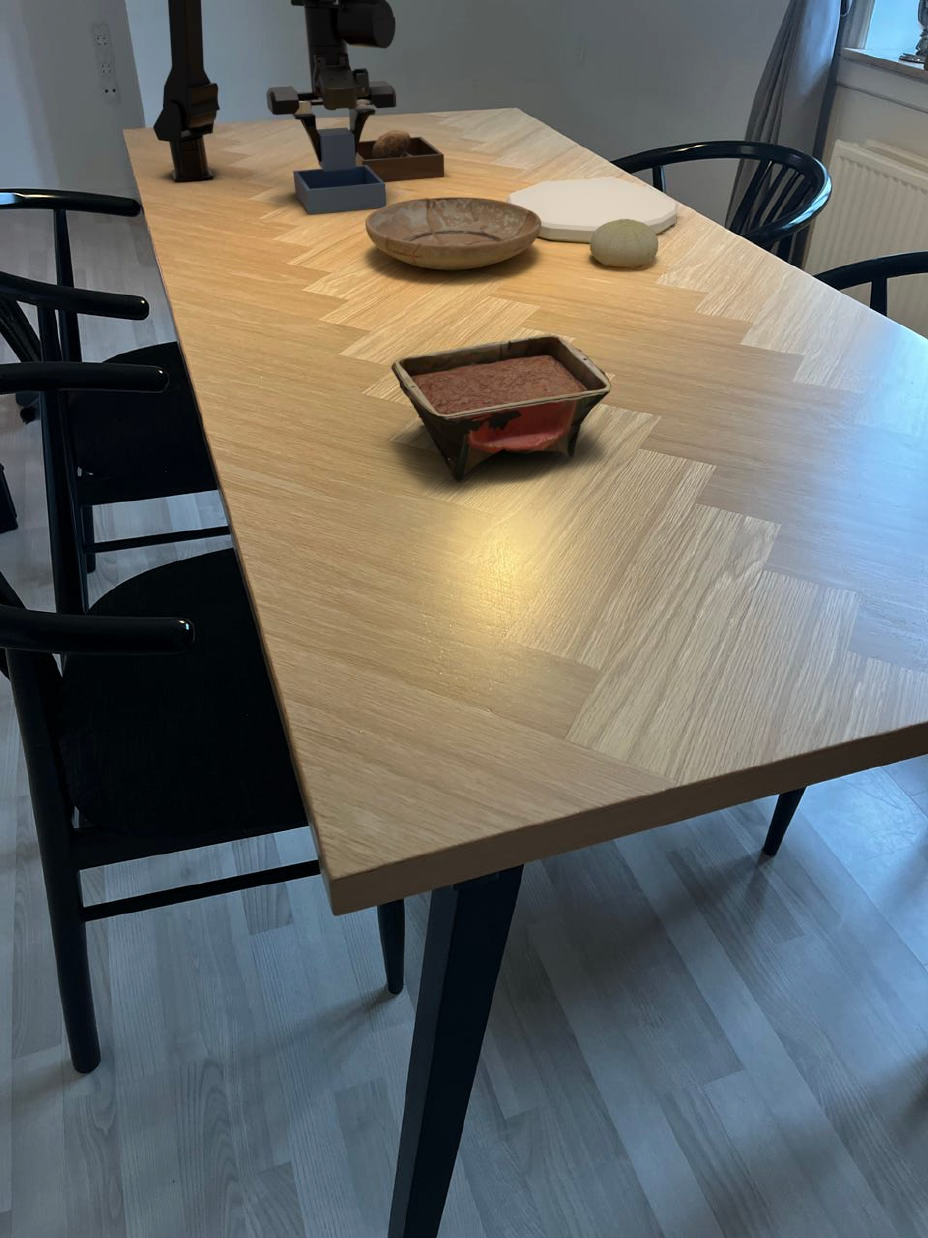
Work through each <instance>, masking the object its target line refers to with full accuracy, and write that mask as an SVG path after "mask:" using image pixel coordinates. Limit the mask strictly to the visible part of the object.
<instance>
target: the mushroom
mask: <svg viewBox="0 0 928 1238" xmlns="http://www.w3.org/2000/svg"><path fill="white" fill-rule="evenodd" d="M410 137H411V135H410V133H408V132H407V131H405V130H394V129H393V130H389V131H387V132H385V133H384V134H382V135H380V136H379V137H378V138H377V139H376V140H377V141H376V142H375V144H374V146H373V151H372V157H373V159H383V158H395V157H408V156H412V155H410V154H408V153H407V151H406V149H407V147H408V146H409V144H410V140H411V138H410Z"/></svg>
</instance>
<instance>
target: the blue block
mask: <svg viewBox="0 0 928 1238" xmlns="http://www.w3.org/2000/svg"><path fill="white" fill-rule="evenodd" d="M317 133H318V138H319V144H320V149H321V162H319V161H318V160H317V163H318V165H319V167H320V169H323V170H324V172H330V171H342V170H354V169H356V158H355V143H354V134H353V133H352V132H351V131H350V128H348V127H332V128H317Z"/></svg>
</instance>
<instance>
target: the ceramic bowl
mask: <svg viewBox="0 0 928 1238" xmlns="http://www.w3.org/2000/svg"><path fill="white" fill-rule="evenodd" d="M364 225H365V230H366V233H367V235H368V237H369V239H370V240H371V242H372V243H373V244H374V245H375V246H376V247H377V248H378V249H379V250H381V251H382V252H384V253H385V254H386V255H388V256H390V257H393V259H396V260H399V261H401V262H403V263H405V264H409V265H412V266H416V267H420V268H425V269H433V270H445V271H446V270H448V271H449V270H454V271H455V270H466V269H467V270H468V269H476V268H480V267H486V266H490V265H494V264H498V263H501V262H504V261H506V260H509V259H511V258H513V257H514V256H517V255H519V254H520V253H522V252H523V251H526V250H527V249H528V248H529V247H530V246H531V245H532V244H533V243H534V242H535V241H536V239H537V238H538V235H539V233H540V230H541V220H540V218H539V216H538V215H537V214H536V213H534V212H533V211H530V210H528V209H526V208H523V207H521V206H518V205H515V204H511V203H507V201H502V200H497V199H496V200H495V199H490V198H483V197H468V196H448V197H445V196H444V197H443V196H442V197H430V198H429V197H426V198H416V199H409V200H403V201H399V202H395V203H392V204H389V205H386V206H385V207H382V208H377V209H376V210H374V211H372V212H371V213H370V214H369V215H368V216H367V217H366V218H365V223H364Z"/></svg>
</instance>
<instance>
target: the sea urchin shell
mask: <svg viewBox="0 0 928 1238" xmlns="http://www.w3.org/2000/svg"><path fill="white" fill-rule="evenodd" d="M589 251H590V254H591V255H592V256H593V257H594V259H595V260H596V261H597V262H599V263H601V264H602V265H603V266H606V267H619V268H620V267H622V268H639V267H643V266H644V265H646V264H648V263H650V262H651V261H652V260H653V259H654V258H655V257H656V256H657V254H658V251H659V237H658V234H655V232H654V231H653V230H652V228H650V227H649V226H648V225H646V224H644V223H641V222H638V221H635V220H630V219H619V220H616V221H614V220H613V221H612V222H608V223H606V224H603V225H602V226H600V227H599V228H598V229H597V230H596V231H595V232H594V233H593V235H592V238H591V240H590V243H589Z"/></svg>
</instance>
